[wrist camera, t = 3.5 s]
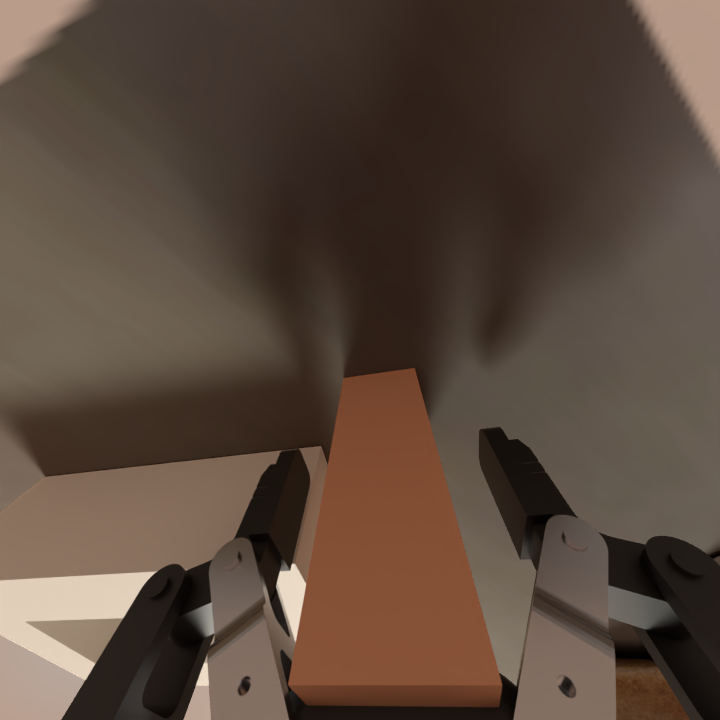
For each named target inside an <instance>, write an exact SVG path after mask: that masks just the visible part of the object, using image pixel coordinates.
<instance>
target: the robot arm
mask: <svg viewBox="0 0 720 720" xmlns="http://www.w3.org/2000/svg"><path fill="white" fill-rule="evenodd" d="M479 460H480V465H481V469H482V472H483V474H484V476H485V479H486V481H487V483H488V486H489V488H490V490H491V493H492V495H493V497H494V500H495V502H496V504H497V507H498V509H499V511H500V514H501V516H502V518H503V520H504V523H505V525H506V527H507V530H508V532H509V534H510V537H511V539H512V541H513V544H514V546H515V548H516V551H517V553H518V555H519V558H520V560H522V559H531V560H532V562H533V565H534V567H535V569H536V571H537V572H536V577H535V583H534V589H533V595H532V600H531V606H530V612H529V618H528V623H527V629H526V635H525V640H524V646H523V651H522V656H521V662H520V668H519V673H518V679H517V685H516V686H515V685H514V684H513V683H512V682H511V681H509V680H508V679H507V678H506V677H505V676H503V675H502V674H500V673H499V675H500V678H501V682H502V691H501V698H500V705H499V707H423V706H324V705H306V704H305V703H304V702H303V701H302V700H301V699H300V698H299V697H298V695H297V694H296V693H295V692H294V691H293V690H292V689H291V688H290V687H289V686H288V682H289V677H290V671H291V666H292V660H293V655H294V649H295V644H296V642H295V640H294V637H293V633H292V630H291V627H290V623H289V620H288V617H287V613H286V610H285V607H284V603H283V600H282V597H281V593H280V590H279V587H278V584H277V580H278V577H279V573H280V571H290V570H291V565H292V561H293V557H294V553H295V548H296V544H297V540H298V535H299V531H300V527H301V523H302V518H303V514H304V510H305V505H306V501H307V497H308V492H309V488H310V474H309V471H308V468H307V466H306V463H305V461H304V458H303V456H302V453H301V451H300V450H299V449H294V450H285V451H281V452H280V454H279V457H278V459H277V462H276V464H271V465H270V466H269V467H268V468H267V469H266V470H265V471H264V473H263V474H262V475H261V477H260V480H259V482H258V484H257V489H255V491H254V494H253V498H252V499H251V501H250V503H249V505H248V508H247V510H246V512H245V515H244V517H243V519H242V522H241V524H240V526H239V529H238V531H237V533H236V535H235V537H234V539H233V540H231V541H229V542H228V543H226V544H225V545H224V546H223V547H221V548H220V550H219V551H218V552H217V553H216V555H215V556H214V558H213V559H212V560H210V561H208V562H205V563H203V564H201V565H198V566H196V567H193V568H191V569H189V570H185V569H184V568H183V567H182V566H181V565H179V564H170V565H167V566H165V567H163V568H162V569H160V570H158V571H157V572H156V573H155V574H153V575H152V576H151V577H150V578H149V579H148V580H147V582H146V583H145V584H144V585H143V587H142V588H141V590H140V591H139V593H138V595H137V596H136V598H135V600H134V601H133V603H132V605H131V606H130V608H129V609H128V611H127V613H126V614H125V616H124V618H123V619H122V621H121V623H120V624H119V626H118V628H117V629H116V631H115V632H114V634H113V636H112V637H111V639H110V641H109V642H108V644H107V646H106V647H105V649H104V651H103V652H102V654H101V656H100V657H99V659H98V660H97V662H96V664H95V665H94V667H93V669H92V670H91V672H90V674H89V675H88V677H87V679H86V680H85V682H84V684H83V685H82V687H81V688H80V690H79V692H78V693H77V695H76V697H75V698H74V700H73V702H72V703H71V705H70V707H69V708H68V710H67V711H66V713H65V715H64V716H63V718H62V720H183V719H184V716H185V714H186V711H187V708H188V705H189V703H190V700H191V697H192V694H193V692H194V689H195V686H196V684H197V681H198V678H199V675H200V673H201V670H202V667H203V664H204V662H205V659H206V656H207V664H208V679H209V694H210V708H211V720H616V672H615V648H614V642H613V639H612V637H611V636H610V634H609V625H608V618H612V619H615V620H618V621H621V622H624V623H627V624H630V625H632V626H633V628H634V629H635V631H636V633H637V634H638V636H639V638H640V639H641V641H642V642H643V644H644V646H645V647H646V649H647V651H648V652H649V654H650V655H651V657H652V659H653V660H654V662H655V663H656V665H657V667H658V668H659V670H660V672H661V673H662V675H663V676H664V678H665V680H666V681H667V683H668V684H669V686H670V688H671V689H672V691H673V693H674V694H675V696H676V697H677V699H678V701H679V702H680V704H681V706H682V707H683V709H684V710H685V712H686V714H687V715H688V717H689V718H690V720H720V556H719V557H716V558H714V559H712V558H711V557H710V556H709V555H707V554H706V553H705V552H703V551H702V550H700V549H699V548H697V547H695V546H693V545H691V544H689V543H687V542H685V541H682V540H680V539H677V538H673V537H668V536H655V537H653V538H651V539H649V540H648V542H647V543H646V545H644V544H640V543H635V542H631V541H627V540H622V539H618V538H613V537H610V536H607V535H604V534H601V533H599V532H598V531H597V530H596V529H594V528H593V527H592V526H591V525H589V524H588V523H586V522H585V521H583V520H581V519H579V518H578V517H577V516H576V515H575V514H574V512H573V511H572V510H571V508H570V507H569V505H568V504H567V502H566V501H565V499H564V498H563V496H562V495H561V493H560V492H559V490H558V489H557V487H556V486H555V485H554V483H553V482H552V480H551V479H550V477H549V476H548V474H547V473H545V470H544V468H543V467H542V465H541V464H540V463H539V462H538V459H537V458H536V457H535V455H534V454H533V452H532V451H531V449H530V448H529V447H527V446H526V445H525V444H523V443H522V442H521V441H519V440H518V439H514V440H508V438H507V436H506V435H505V433H504V431H503V430H502V429H501V428H500V427H496V428H487V429H480V431H479ZM213 637H214V643H213V644H211V643H212V640H213ZM207 654H208V655H207Z"/></svg>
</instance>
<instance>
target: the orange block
mask: <svg viewBox="0 0 720 720" xmlns="http://www.w3.org/2000/svg"><path fill="white" fill-rule="evenodd" d="M288 686H289V687H290V688H291V689H292V690H293V691H294V692H295V693H296V694H297V695H298V697H299V698H300V699H301V700H302V701H303V702H304V703H305V704H306V705H324V706H423V707H499V705H500V698H501V691H502V682H501V678H500V675H499V671H498V668H497V664H496V660H495V657H494V653H493V650H492V646H491V642H490V639H489V635H488V631H487V628H486V624H485V621H484V617H483V613H482V610H481V606H480V603H479V599H478V595H477V592H476V588H475V584H474V581H473V577H472V574H471V570H470V566H469V563H468V559H467V555H466V552H465V548H464V545H463V541H462V537H461V534H460V530H459V527H458V523H457V519H456V516H455V512H454V508H453V505H452V501H451V498H450V494H449V490H448V487H447V483H446V480H445V476H444V472H443V469H442V465H441V461H440V458H439V454H438V451H437V447H436V443H435V440H434V436H433V433H432V429H431V425H430V422H429V418H428V414H427V411H426V407H425V404H424V400H423V396H422V393H421V389H420V386H419V382H418V378H417V375H416V371H415V368H410V369H403V370H396V371H389V372H382V373H375V374H368V375H361V376H354V377H347V378H343V384H342V389H341V395H340V400H339V406H338V411H337V417H336V422H335V428H334V434H333V439H332V445H331V450H330V456H329V461H328V467H327V472H326V478H325V483H324V489H323V494H322V500H321V505H320V511H319V517H318V522H317V528H316V533H315V539H314V544H313V550H312V555H311V561H310V566H309V572H308V577H307V583H306V588H305V594H304V599H303V605H302V611H301V616H300V622H299V627H298V633H297V638H296V644H295V649H294V655H293V660H292V666H291V671H290V677H289V682H288Z"/></svg>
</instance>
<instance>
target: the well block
mask: <svg viewBox="0 0 720 720" xmlns="http://www.w3.org/2000/svg"><path fill="white" fill-rule="evenodd" d="M290 450H294V449H290ZM299 450H300V451H301V453H302V456H303V458H304V461H305V463H306V466H307V468H308V471H309V474H310V488H309V492H308V497H307V501H306V505H305V510H304V514H303V518H302V523H301V527H300V531H299V535H298V540H297V544H296V548H295V553H294V557H293V561H292V565H291V570H290V571H280V573H279V577H278V580H277V584H278V587H279V590H280V593H281V597H282V600H283V603H284V607H285V610H286V613H287V617H288V620H289V623H290V627H291V630H292V633H293V637H294V640H295V642H296V638H297V633H298V627H299V622H300V616H301V611H302V605H303V599H304V594H305V588H306V583H307V577H308V572H309V566H310V561H311V555H312V550H313V544H314V539H315V533H316V528H317V522H318V517H319V511H320V505H321V500H322V494H323V489H324V483H325V478H326V472H327V467H328V464H327V461H326V458H325V455H324V453H323V450H322V447H321V446H317V447H308V448H299ZM281 451H285V450H281ZM281 451H272V452H263V453H254V454H245V455H236V456H227V457H218V458H209V459H201V460H192V461H183V462H174V463H165V464H156V465H147V466H138V467H129V468H120V469H111V470H102V471H93V472H84V473H75V474H66V475H57V476H48V477H44V478H42V479H41V480H40V481H39V482H37V483H36V484H35V485H34V486H32V487H31V488H30V489H29V490H27V491H26V492H25V493H23V494H22V495H21V496H20V497H18V498H17V499H16V500H15V501H13V502H12V503H11V504H10V505H8V506H7V507H6V508H5V509H3V510H2V511H1V512H0V635H1V636H3V637H5V638H7V639H8V640H10V641H12V642H14V643H16V644H18V645H20V646H22V647H23V648H25V649H27V650H29V651H31V652H33V653H35V654H37V655H39V656H40V657H42V658H44V659H46V660H48V661H50V662H52V663H54V664H56V665H57V666H59V667H61V668H63V669H65V670H67V671H69V672H71V673H72V674H74V675H76V676H78V677H80V678H82V679H84V680H86V679H87V677H88V675H89V674H90V672H91V670H92V669H93V667H94V665H95V664H96V662H97V660H98V659H99V657H100V656H101V654H102V652H103V651H104V649H105V647H106V646H107V644H108V642H109V641H110V639H111V637H112V636H113V634H114V632H115V631H116V629H117V628H118V626H119V624H120V623H121V621H122V619H123V618H124V616H125V614H126V613H127V611H128V609H129V608H130V606H131V605H132V603H133V601H134V600H135V598H136V596H137V595H138V593H139V591H140V590H141V588H142V587H143V585H144V584H145V583H146V582H147V580H148V579H149V578H150V577H151V576H152V575H153V574H155V573H156V572H157V571H158V570H160V569H162V568H163V567H165V566H167V565H170V564H179V565H181V566H182V567H183V568H184V569H185V570H189V569H191V568H193V567H196V566H198V565H201V564H203V563H205V562H208V561H210V560H212V559H213V558H214V556H215V555H216V553H217V552H218V551H219V550H220V548H221V547H223V546H224V545H225V544H226V543H228V542H229V541H231V540H233V539H234V537H235V535H236V533H237V531H238V529H239V526H240V524H241V522H242V519H243V517H244V515H245V512H246V510H247V508H248V505H249V503H250V501H251V499H252V498H253V494H254V491H255V489H257V484H258V482H259V480H260V477H261V475H262V474H263V473H264V471H265V470H266V469H267V468H268V467H269V466H270V465H271V464H276V462H277V459H278V457H279V454H280V452H281ZM213 643H214V637H213V640H212V643H211V644H213ZM207 655H208V654H207ZM196 686H209V679H208V664H207V656H206V659H205V662H204V664H203V667H202V670H201V673H200V675H199V678H198V681H197V684H196Z"/></svg>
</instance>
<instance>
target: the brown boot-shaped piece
mask: <svg viewBox="0 0 720 720" xmlns="http://www.w3.org/2000/svg"><path fill="white" fill-rule="evenodd" d="M615 672H616V720H690V718H689V717H688V715H687V714H686V712H685V710H684V709H683V707H682V706H681V704H680V702H679V701H678V699H677V697H676V696H675V694H674V693H673V691H672V689H671V688H670V686H669V684H668V683H667V681H666V680H665V678H664V676H663V675H662V673H661V672H660V670H659V668H658V667H657V665H656V663H655V662H654V660H647V659H629V658H615Z"/></svg>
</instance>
